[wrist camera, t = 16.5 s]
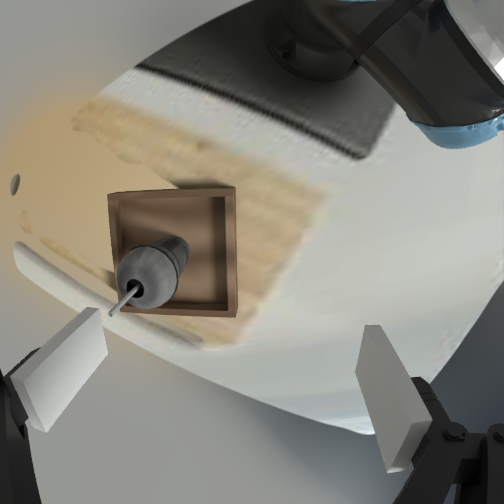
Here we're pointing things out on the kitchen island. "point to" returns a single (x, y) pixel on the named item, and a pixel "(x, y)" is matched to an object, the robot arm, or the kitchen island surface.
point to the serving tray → (194, 233)
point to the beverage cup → (151, 273)
